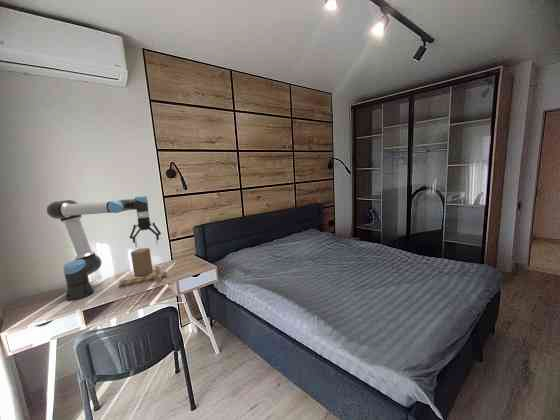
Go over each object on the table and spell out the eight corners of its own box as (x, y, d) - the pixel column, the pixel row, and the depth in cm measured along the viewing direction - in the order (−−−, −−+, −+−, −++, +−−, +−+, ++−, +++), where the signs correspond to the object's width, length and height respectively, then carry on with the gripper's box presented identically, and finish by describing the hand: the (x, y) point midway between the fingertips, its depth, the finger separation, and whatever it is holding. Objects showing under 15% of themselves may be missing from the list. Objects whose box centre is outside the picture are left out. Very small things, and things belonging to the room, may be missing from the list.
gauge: (155, 283, 184) (153, 268, 182) (155, 277, 195) (153, 263, 193) (161, 281, 185) (159, 267, 184) (161, 276, 196) (159, 262, 195)
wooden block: (153, 271, 210) (149, 247, 207) (145, 276, 200) (142, 251, 197) (142, 271, 211) (138, 248, 208) (134, 276, 201) (130, 252, 198)
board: (118, 287, 180) (118, 285, 180) (120, 283, 188) (120, 280, 188) (166, 277, 192) (166, 275, 192) (166, 273, 201) (166, 271, 200)
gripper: (122, 219, 176) (126, 249, 178) (162, 215, 185) (165, 244, 188) (124, 218, 182) (128, 247, 185) (162, 214, 192) (165, 242, 195)
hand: (146, 245), depth 187 cm, fingers open, 13 cm apart
